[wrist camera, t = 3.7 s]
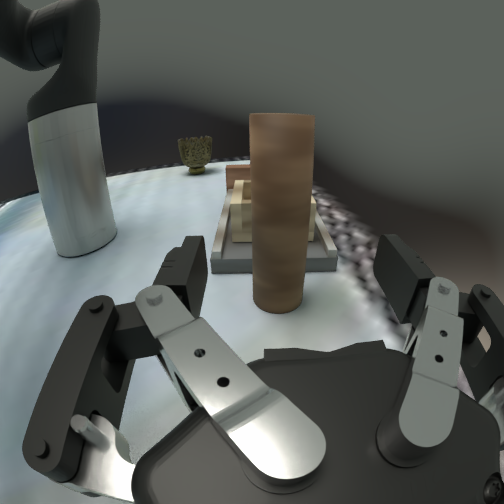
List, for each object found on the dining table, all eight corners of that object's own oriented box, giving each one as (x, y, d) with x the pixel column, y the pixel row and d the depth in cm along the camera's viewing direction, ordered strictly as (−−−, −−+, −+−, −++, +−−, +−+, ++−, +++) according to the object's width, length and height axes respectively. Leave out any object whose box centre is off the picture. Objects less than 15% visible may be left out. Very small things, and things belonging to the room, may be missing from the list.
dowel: (242, 299, 22) (235, 114, 15) (272, 276, 25) (274, 112, 18) (283, 321, 20) (292, 116, 13) (311, 293, 23) (325, 116, 16)
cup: (216, 174, 56) (214, 137, 52) (181, 179, 55) (178, 141, 51) (211, 167, 63) (209, 134, 59) (179, 171, 61) (176, 138, 57)
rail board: (335, 270, 25) (343, 217, 23) (211, 273, 26) (205, 218, 23) (302, 198, 43) (304, 164, 40) (228, 199, 43) (226, 165, 40)
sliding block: (313, 241, 27) (316, 203, 25) (232, 242, 27) (230, 203, 25) (300, 210, 34) (302, 179, 32) (236, 211, 34) (235, 180, 32)
